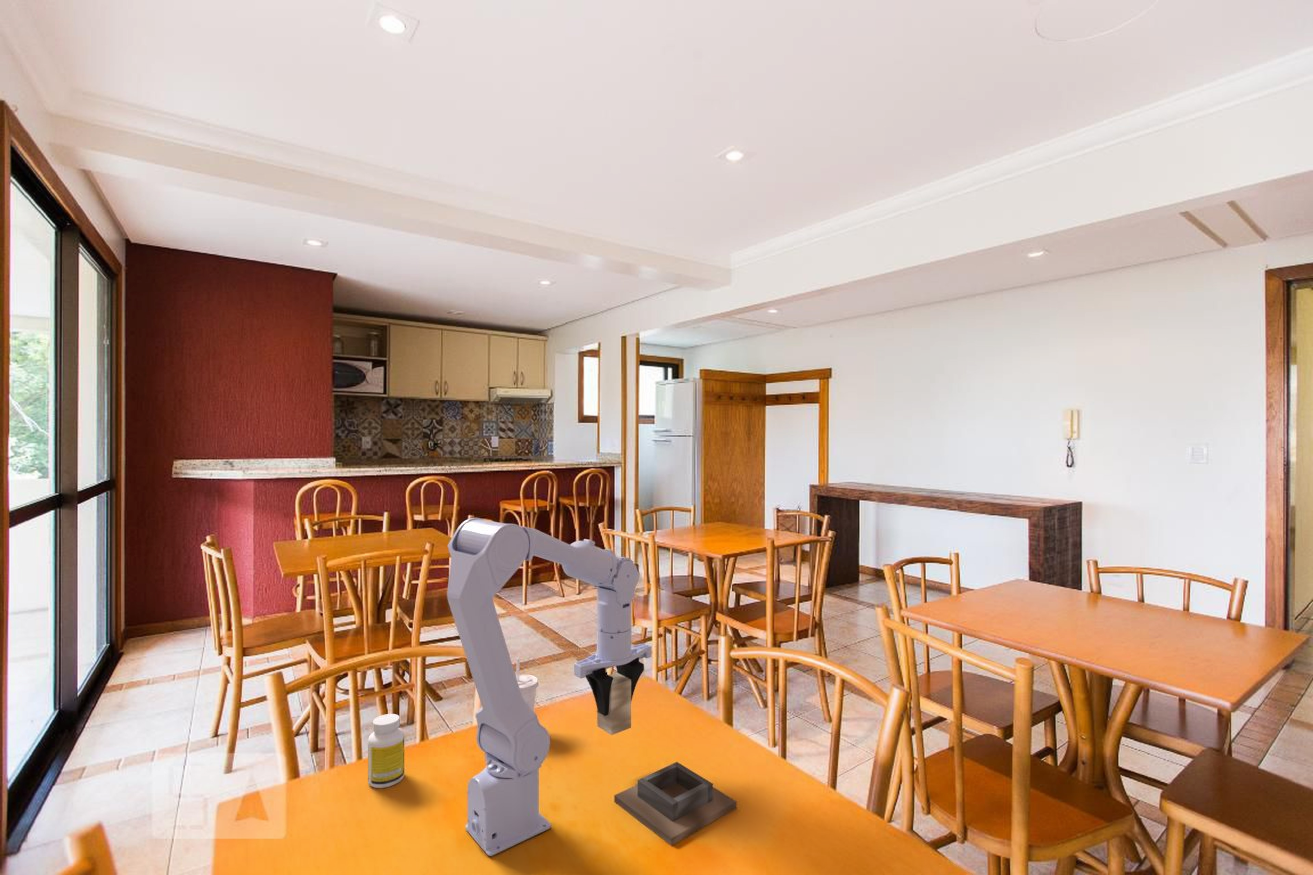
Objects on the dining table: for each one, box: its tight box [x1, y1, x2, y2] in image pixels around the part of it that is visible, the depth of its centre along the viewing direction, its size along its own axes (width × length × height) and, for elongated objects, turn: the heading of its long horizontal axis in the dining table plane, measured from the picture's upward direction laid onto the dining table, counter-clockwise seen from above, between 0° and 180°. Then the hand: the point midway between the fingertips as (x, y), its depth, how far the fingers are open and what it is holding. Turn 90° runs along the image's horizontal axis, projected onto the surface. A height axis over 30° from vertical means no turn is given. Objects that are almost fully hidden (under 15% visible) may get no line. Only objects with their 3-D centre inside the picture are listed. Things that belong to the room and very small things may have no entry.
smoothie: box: [515, 657, 539, 712], centre depth 116 cm, size 6×6×14 cm
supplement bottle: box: [367, 713, 405, 789], centre depth 100 cm, size 5×5×10 cm
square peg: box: [596, 672, 632, 736], centre depth 104 cm, size 4×4×8 cm
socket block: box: [613, 761, 738, 846], centre depth 94 cm, size 13×13×4 cm
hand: (614, 709), depth 104 cm, fingers closed on square peg, 4 cm apart
